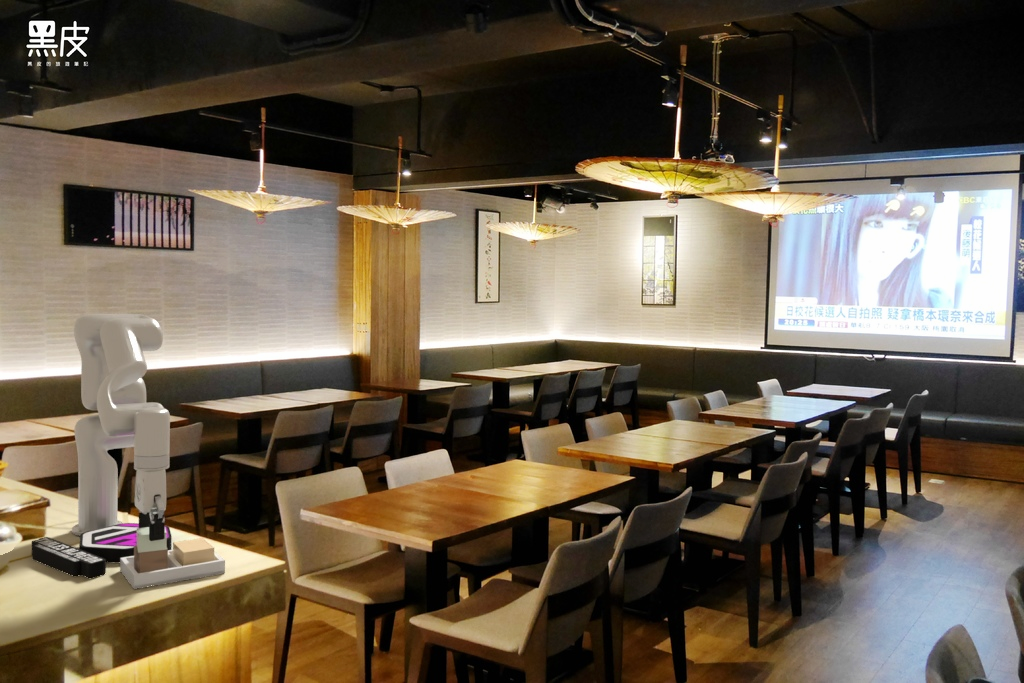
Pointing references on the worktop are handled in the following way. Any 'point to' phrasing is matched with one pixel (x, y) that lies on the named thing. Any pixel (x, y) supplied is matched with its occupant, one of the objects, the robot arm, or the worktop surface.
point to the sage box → (148, 545)
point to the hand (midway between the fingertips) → (151, 534)
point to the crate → (178, 564)
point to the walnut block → (150, 560)
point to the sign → (90, 550)
